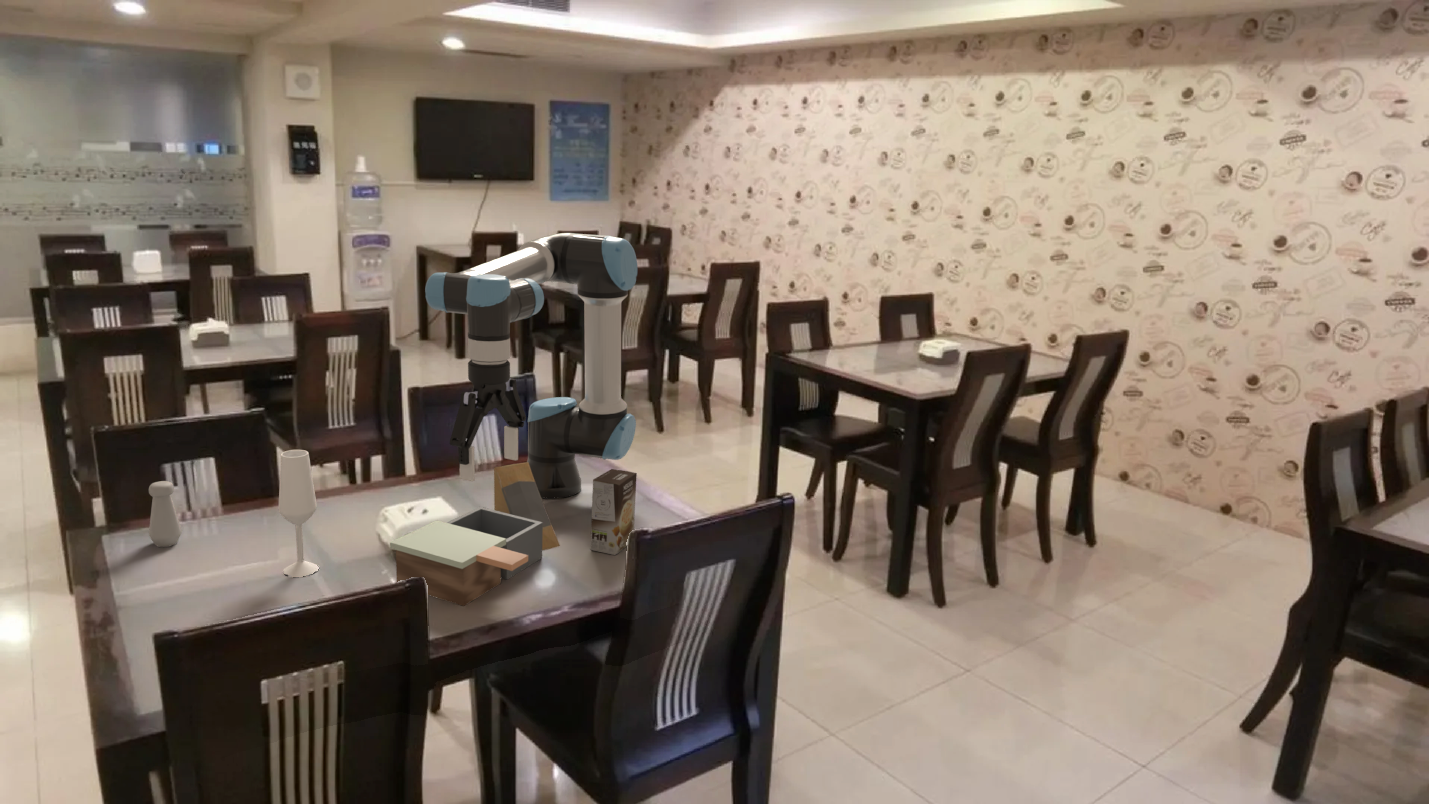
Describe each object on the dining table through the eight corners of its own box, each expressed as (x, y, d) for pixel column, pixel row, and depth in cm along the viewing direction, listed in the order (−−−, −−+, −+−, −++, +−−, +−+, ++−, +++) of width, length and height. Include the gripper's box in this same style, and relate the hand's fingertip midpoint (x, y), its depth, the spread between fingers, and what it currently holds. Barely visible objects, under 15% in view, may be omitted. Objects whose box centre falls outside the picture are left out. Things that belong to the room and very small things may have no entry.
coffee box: (616, 556, 194) (619, 485, 190) (589, 550, 196) (591, 479, 192) (634, 540, 203) (637, 472, 199) (608, 535, 205) (610, 467, 201)
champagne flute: (278, 567, 179) (271, 451, 173) (314, 560, 183) (308, 446, 177) (287, 580, 174) (279, 461, 168) (324, 572, 178) (318, 456, 172)
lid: (437, 525, 184) (436, 520, 184) (540, 553, 174) (540, 547, 174) (390, 548, 172) (389, 542, 172) (498, 579, 163) (498, 573, 162)
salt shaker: (189, 541, 188) (184, 481, 185) (162, 551, 183) (156, 490, 180) (170, 535, 190) (164, 476, 187) (143, 544, 185) (137, 484, 182)
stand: (435, 564, 185) (435, 528, 183) (500, 583, 179) (500, 545, 177) (396, 585, 175) (395, 546, 173) (463, 606, 169) (463, 566, 167)
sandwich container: (526, 555, 192) (526, 488, 188) (492, 530, 204) (493, 467, 200) (561, 546, 198) (563, 481, 194) (527, 523, 209) (528, 461, 205)
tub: (480, 541, 197) (480, 506, 195) (542, 558, 191) (542, 522, 189) (442, 561, 187) (442, 524, 185) (506, 579, 180) (507, 542, 178)
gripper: (512, 345, 180) (512, 447, 186) (427, 370, 158) (430, 485, 164) (544, 350, 177) (543, 454, 183) (462, 376, 155) (464, 493, 161)
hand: (490, 469), depth 173 cm, fingers open, 13 cm apart
